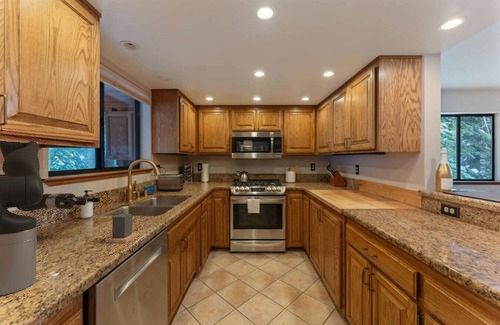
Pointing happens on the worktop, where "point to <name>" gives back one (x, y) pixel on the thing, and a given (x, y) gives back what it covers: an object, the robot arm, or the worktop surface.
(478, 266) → the worktop surface
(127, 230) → the dark grey upright block
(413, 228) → the worktop surface
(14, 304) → the worktop surface
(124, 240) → the shaft plate
